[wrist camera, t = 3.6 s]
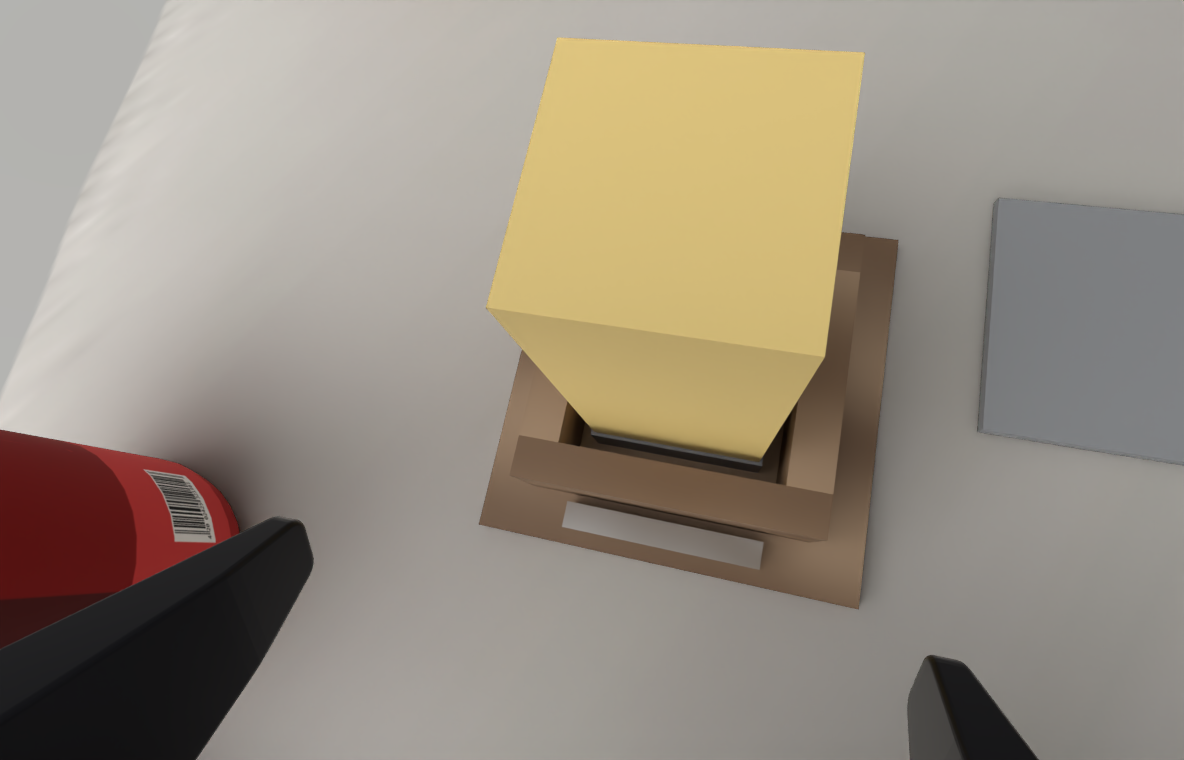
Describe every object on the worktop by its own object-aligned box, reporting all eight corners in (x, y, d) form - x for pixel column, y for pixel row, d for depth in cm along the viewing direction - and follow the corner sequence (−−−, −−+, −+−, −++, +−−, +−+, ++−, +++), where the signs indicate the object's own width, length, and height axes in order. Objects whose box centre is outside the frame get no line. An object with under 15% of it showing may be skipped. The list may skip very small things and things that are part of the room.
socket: (854, 607, 19) (887, 618, 16) (483, 524, 22) (444, 519, 18) (894, 246, 22) (928, 191, 18) (560, 210, 24) (538, 155, 21)
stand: (1284, 481, 18) (1296, 479, 18) (977, 431, 20) (983, 429, 19) (1273, 230, 20) (1284, 223, 20) (993, 204, 22) (999, 197, 21)
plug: (757, 472, 20) (831, 365, 9) (598, 443, 21) (478, 312, 10) (780, 319, 21) (871, 47, 10) (628, 299, 22) (553, 31, 11)
